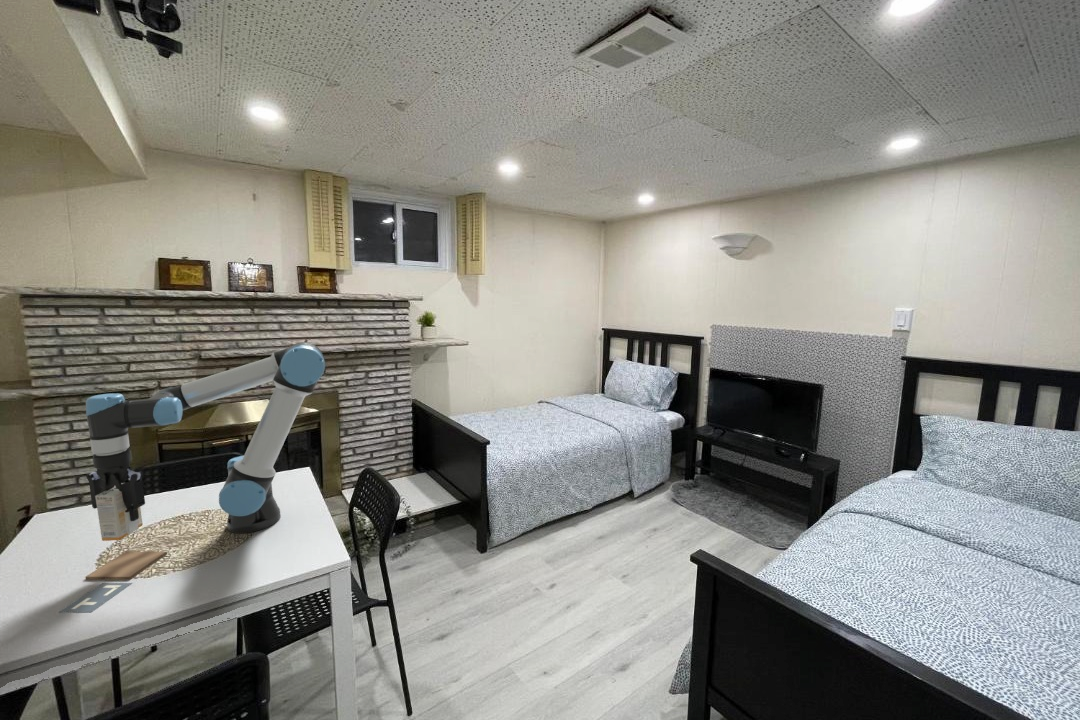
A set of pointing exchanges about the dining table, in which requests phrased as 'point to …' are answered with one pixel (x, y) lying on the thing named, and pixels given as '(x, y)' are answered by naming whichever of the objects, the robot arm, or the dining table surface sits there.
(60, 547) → the dining table surface
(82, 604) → the blue gray tile
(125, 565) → the coaster
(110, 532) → the supplement box
